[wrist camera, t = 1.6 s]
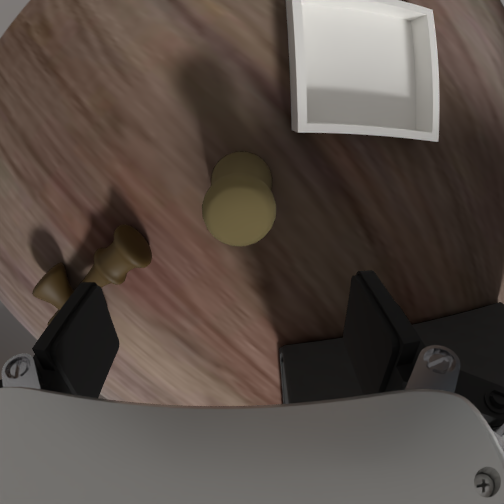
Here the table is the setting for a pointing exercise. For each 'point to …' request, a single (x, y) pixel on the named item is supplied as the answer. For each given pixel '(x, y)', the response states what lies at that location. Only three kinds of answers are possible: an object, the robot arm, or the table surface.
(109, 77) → the table surface
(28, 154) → the table surface
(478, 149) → the table surface
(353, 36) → the box
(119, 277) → the kendama
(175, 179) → the table surface
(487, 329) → the laptop
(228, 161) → the cork
